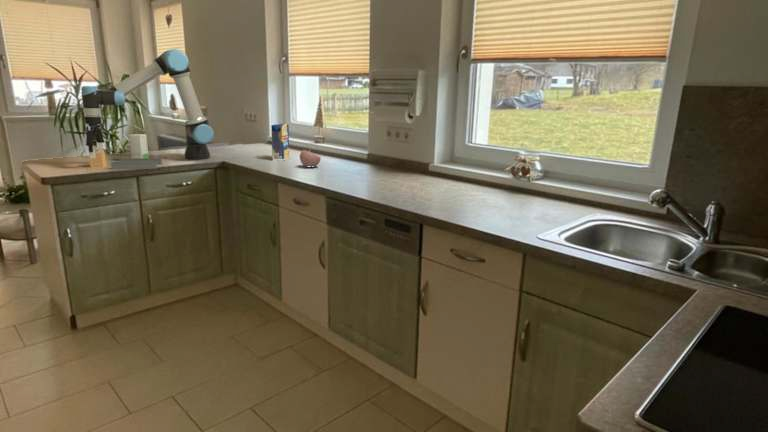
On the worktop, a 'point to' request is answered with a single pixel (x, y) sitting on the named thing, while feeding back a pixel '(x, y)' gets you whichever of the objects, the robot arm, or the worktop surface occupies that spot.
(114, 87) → the robot arm
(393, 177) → the worktop surface
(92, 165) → the orange block
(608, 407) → the worktop surface
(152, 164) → the channel
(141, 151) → the skincare box
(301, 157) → the reddish-brown rounded lump
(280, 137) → the beverage box
